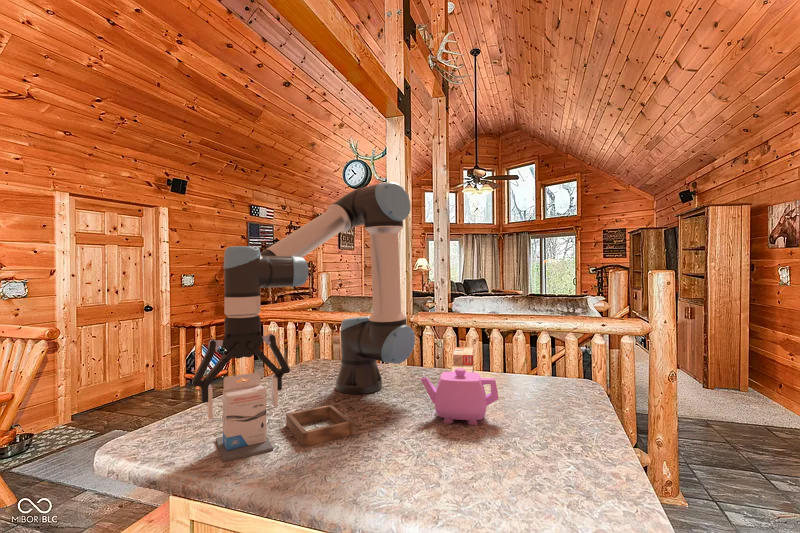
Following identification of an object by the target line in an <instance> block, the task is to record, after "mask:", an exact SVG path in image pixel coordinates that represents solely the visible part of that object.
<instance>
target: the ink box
mask: <svg viewBox="0 0 800 533" xmlns="http://www.w3.org/2000/svg"><path fill="white" fill-rule="evenodd" d="M261 374H262V373H261V372H259V371H258V372H251V373H243V374H236V375H230V376H225V377H224V378H223V391H222V437H223V444H224V446H225V448H226V450H231V449H236V448H240V447H244V446H249V445H253V444H258V443H262V442H266V437H267V389H266V388H265V387H264V386H263V385H262V384H261V380H262V379H261V376H262V375H261ZM242 379H244V380H247V379H248V381H241V382H237V381H240V380H242Z"/></svg>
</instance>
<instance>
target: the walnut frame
mask: <svg viewBox="0 0 800 533" xmlns="http://www.w3.org/2000/svg"><path fill="white" fill-rule="evenodd" d="M327 419H329V420H331V421H332V422H333V423H334V424H330V425H327V426H322V427H318V428H312V429H309V430H306V429H305V428H304V427H303V425H302V423H304V424H308V423H311V422H312V421H313V422H317V421H321V420H327ZM307 422H308V423H307ZM285 426H286V428H289V429H290V430H289V429H288V430H289V431H290V432H291V434H292V433H293V434H294V435H295V436H294V435H293V434H292V435H293V436H294V438H295V439H296V438H297V439H296V440H297V442H299V444H300V443H301V444H300V445H301V446H302V448H305V447H309V446H312V445H317V444H321V443H326V442H329V441H335V440H338V439H342V438H345V437H350V436H353V435H354V421H352V420H351V419H350V418H348V417H347V416H346V415H345V413H344V414H343V413H342V412H341V411H340V410H339V409H337V407H335V406H333V405H332V404H328V405H323V406H317V407H313V408H308V409H303V410H298V411H292V412H288V413H285Z"/></svg>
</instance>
